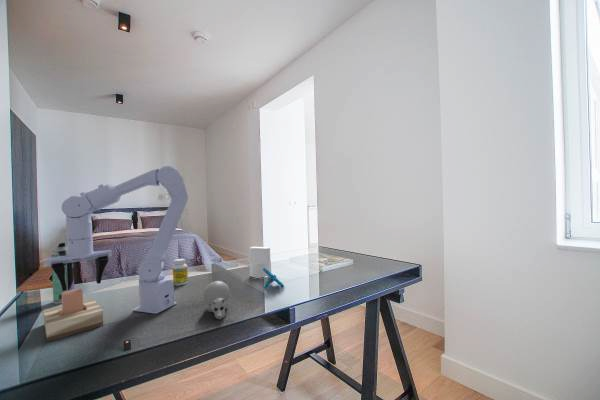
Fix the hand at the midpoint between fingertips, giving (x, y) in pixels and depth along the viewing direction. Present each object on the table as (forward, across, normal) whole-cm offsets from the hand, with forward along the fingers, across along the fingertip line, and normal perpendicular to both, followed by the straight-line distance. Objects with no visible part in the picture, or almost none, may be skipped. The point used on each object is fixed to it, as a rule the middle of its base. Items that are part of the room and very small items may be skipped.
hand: (81, 286), depth 76 cm
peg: (+8, +2, +2) cm, 9 cm away
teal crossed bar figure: (+10, -51, +23) cm, 57 cm away
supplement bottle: (+10, -32, -11) cm, 35 cm away
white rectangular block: (+10, -59, +7) cm, 60 cm away
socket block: (+9, +2, +3) cm, 10 cm away
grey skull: (+10, -27, +28) cm, 40 cm away
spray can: (+10, +2, -25) cm, 27 cm away
